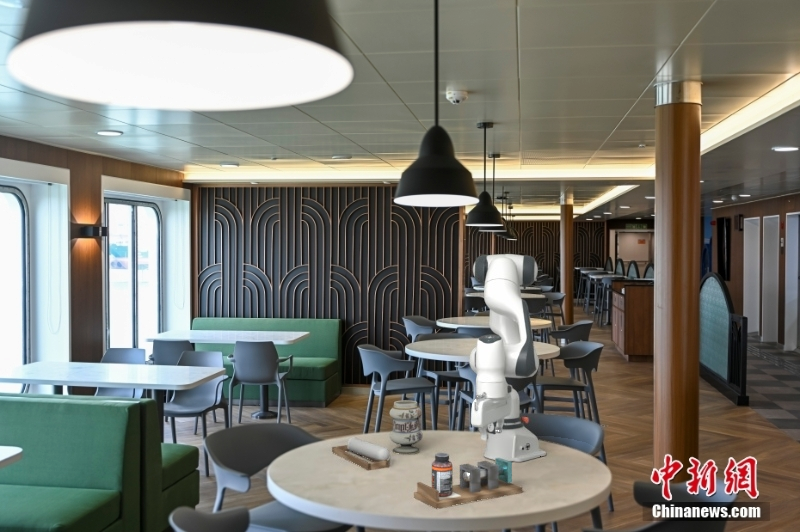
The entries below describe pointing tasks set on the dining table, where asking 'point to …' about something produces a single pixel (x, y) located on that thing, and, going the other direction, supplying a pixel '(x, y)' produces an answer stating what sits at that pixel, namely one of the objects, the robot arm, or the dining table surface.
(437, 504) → the rail
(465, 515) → the dining table surface
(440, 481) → the supplement bottle
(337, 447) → the tube cradle
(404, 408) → the apothecary jar
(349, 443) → the tube
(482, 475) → the shaft
